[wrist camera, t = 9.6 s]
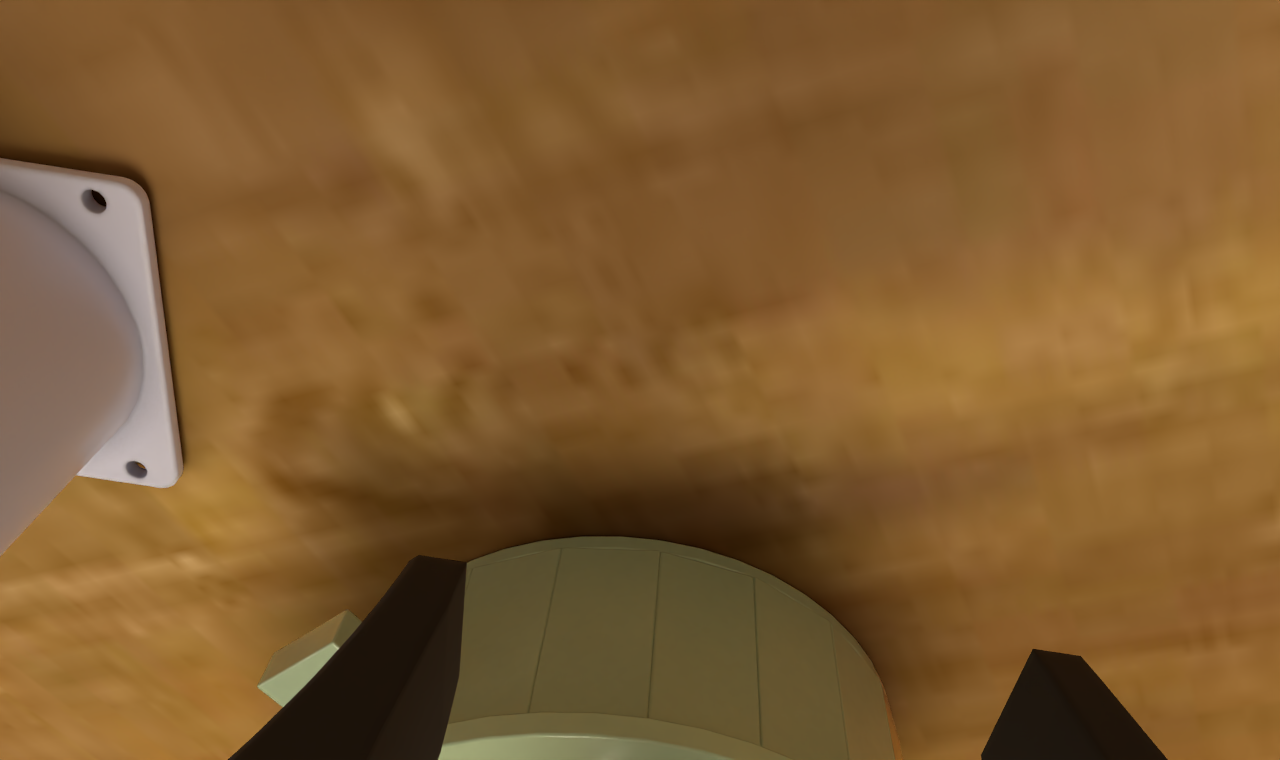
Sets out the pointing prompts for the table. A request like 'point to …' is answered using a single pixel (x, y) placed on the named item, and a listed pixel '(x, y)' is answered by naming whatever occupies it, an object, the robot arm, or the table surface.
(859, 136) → the table surface
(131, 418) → the robot arm
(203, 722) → the table surface
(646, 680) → the pot
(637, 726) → the pot lid
